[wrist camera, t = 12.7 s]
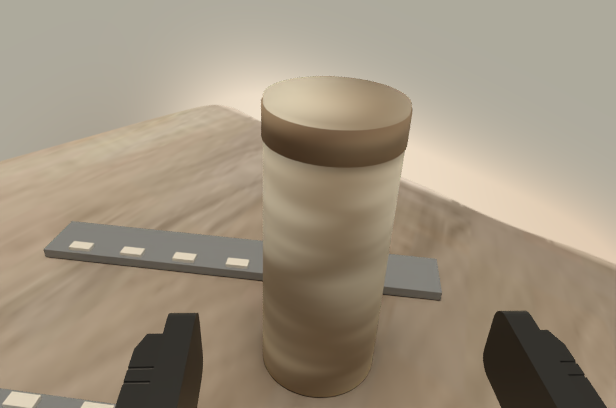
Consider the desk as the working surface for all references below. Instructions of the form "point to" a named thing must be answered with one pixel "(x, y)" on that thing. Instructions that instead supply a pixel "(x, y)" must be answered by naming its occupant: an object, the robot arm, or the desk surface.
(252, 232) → the desk surface
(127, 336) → the desk surface
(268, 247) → the cream stub
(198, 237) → the dashed lane plates
